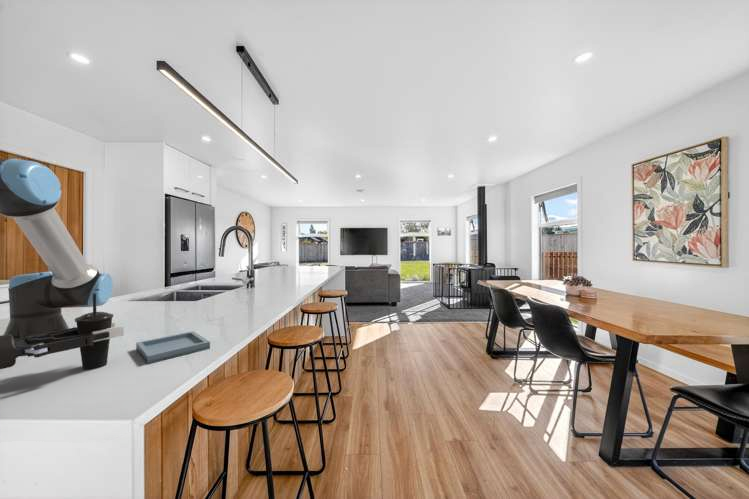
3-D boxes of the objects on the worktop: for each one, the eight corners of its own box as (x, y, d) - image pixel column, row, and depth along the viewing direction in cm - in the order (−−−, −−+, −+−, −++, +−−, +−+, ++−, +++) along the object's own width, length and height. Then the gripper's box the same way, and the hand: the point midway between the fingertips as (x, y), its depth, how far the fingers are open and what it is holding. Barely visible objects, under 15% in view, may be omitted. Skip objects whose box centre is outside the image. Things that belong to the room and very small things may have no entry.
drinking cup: (89, 373, 76) (89, 297, 75) (67, 370, 77) (66, 295, 76) (120, 361, 83) (120, 292, 82) (99, 358, 85) (99, 290, 84)
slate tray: (136, 349, 92) (136, 342, 92) (193, 337, 104) (193, 331, 104) (148, 364, 82) (147, 356, 82) (210, 348, 94) (209, 341, 94)
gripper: (-20, 362, 70) (106, 335, 89) (-7, 383, 60) (132, 348, 80) (-21, 331, 69) (106, 311, 89) (-8, 347, 60) (131, 320, 79)
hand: (118, 328), depth 84 cm, fingers closed on drinking cup, 6 cm apart
